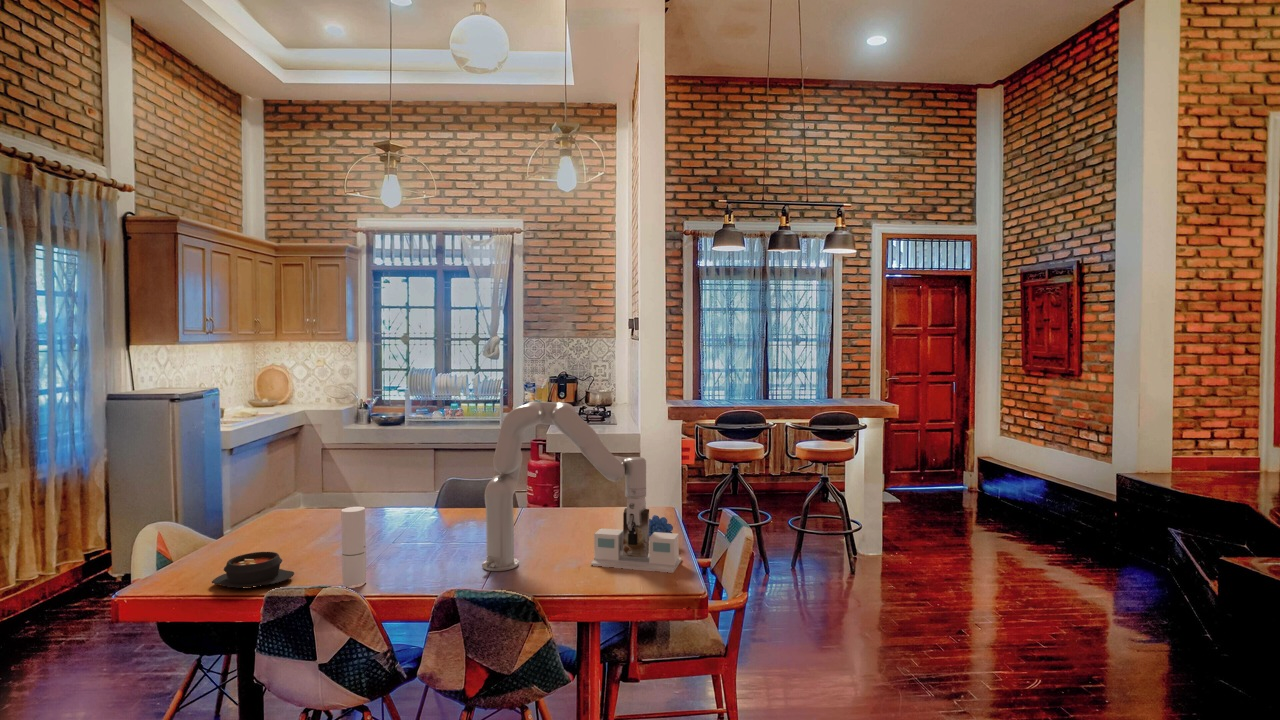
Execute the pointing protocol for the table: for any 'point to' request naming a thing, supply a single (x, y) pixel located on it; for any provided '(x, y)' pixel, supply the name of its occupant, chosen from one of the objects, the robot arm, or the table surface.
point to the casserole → (253, 570)
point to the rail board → (659, 557)
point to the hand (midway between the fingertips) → (635, 541)
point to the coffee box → (642, 537)
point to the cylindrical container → (353, 546)
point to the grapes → (659, 525)
